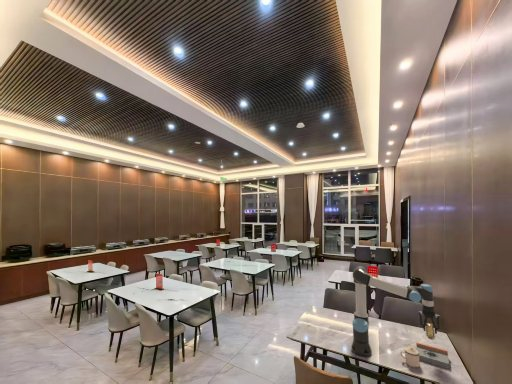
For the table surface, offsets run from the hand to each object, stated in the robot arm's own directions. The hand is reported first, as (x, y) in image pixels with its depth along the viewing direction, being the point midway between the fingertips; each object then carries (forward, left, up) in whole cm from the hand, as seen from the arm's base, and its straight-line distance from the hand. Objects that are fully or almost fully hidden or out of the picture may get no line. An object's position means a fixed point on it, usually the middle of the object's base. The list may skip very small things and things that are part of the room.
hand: (430, 336), depth 180 cm
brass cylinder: (0, 0, -1) cm, 1 cm away
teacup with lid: (-13, -16, -17) cm, 27 cm away
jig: (0, 0, -17) cm, 17 cm away
